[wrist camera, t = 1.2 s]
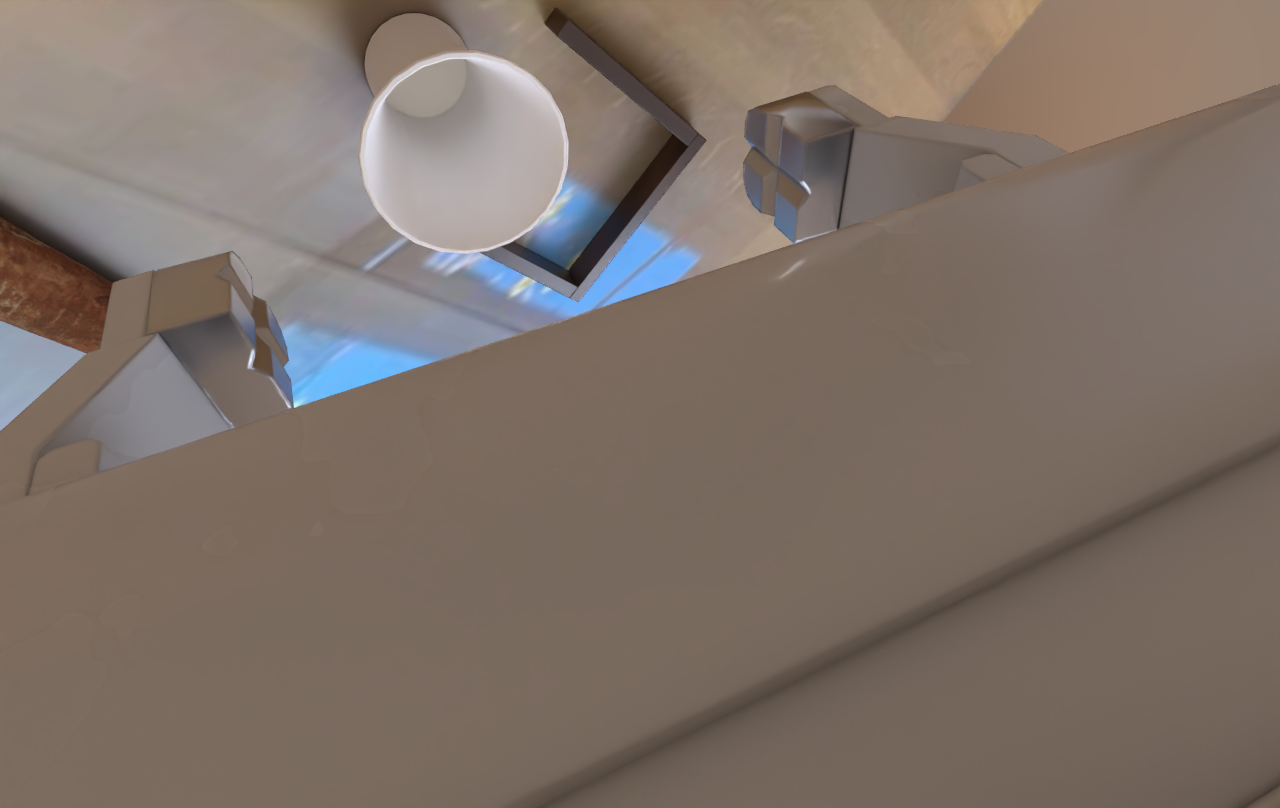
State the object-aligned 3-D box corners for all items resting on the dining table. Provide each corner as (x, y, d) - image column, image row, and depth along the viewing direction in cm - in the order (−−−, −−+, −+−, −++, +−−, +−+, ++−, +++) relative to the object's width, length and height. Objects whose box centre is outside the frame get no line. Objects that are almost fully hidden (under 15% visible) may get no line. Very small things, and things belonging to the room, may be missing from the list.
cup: (533, 50, 46) (608, 133, 37) (445, 179, 49) (495, 284, 40) (386, -71, 38) (436, -3, 30) (295, 90, 42) (316, 194, 33)
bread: (-141, 105, 35) (-182, 152, 31) (211, 320, 49) (211, 370, 45) (-226, 184, 35) (-275, 240, 32) (146, 374, 50) (141, 427, 46)
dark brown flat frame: (555, 7, 44) (568, 18, 43) (692, 127, 54) (706, 140, 52) (422, 210, 50) (429, 227, 48) (568, 286, 59) (578, 302, 58)
